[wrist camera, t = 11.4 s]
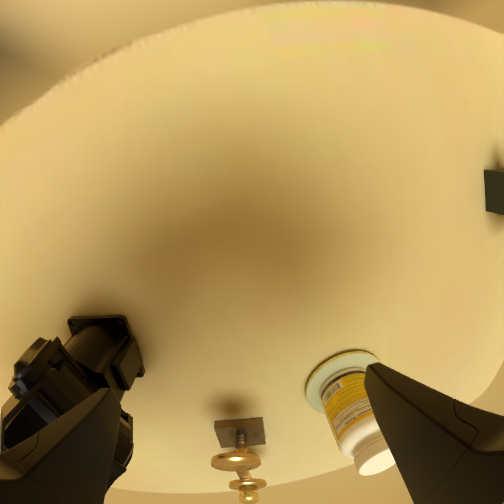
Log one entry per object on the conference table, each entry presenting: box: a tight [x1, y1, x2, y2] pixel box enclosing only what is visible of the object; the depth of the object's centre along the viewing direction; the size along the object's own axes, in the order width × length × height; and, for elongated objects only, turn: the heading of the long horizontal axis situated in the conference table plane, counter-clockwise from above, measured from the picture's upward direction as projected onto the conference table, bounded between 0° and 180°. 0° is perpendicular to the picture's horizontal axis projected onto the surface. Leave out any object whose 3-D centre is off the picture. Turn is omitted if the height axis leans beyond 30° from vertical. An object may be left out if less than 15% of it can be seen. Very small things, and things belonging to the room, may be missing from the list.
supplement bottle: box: [320, 368, 396, 475], centre depth 19 cm, size 5×5×10 cm
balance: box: [211, 418, 266, 504], centre depth 22 cm, size 5×13×8 cm, turn 6°
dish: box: [306, 351, 380, 413], centre depth 24 cm, size 8×8×1 cm
